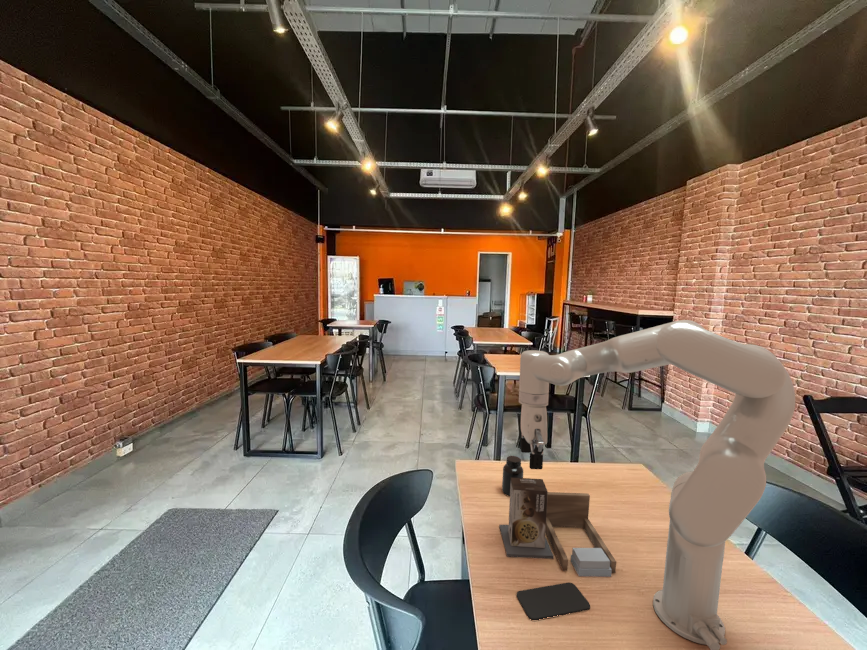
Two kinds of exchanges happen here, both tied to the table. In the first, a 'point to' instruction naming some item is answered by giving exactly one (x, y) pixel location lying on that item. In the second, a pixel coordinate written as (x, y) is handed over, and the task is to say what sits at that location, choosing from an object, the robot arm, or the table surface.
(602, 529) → the table surface
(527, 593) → the phone
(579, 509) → the walnut rack
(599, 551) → the block
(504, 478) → the supplement bottle
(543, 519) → the coffee box
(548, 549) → the dark grey square plate
